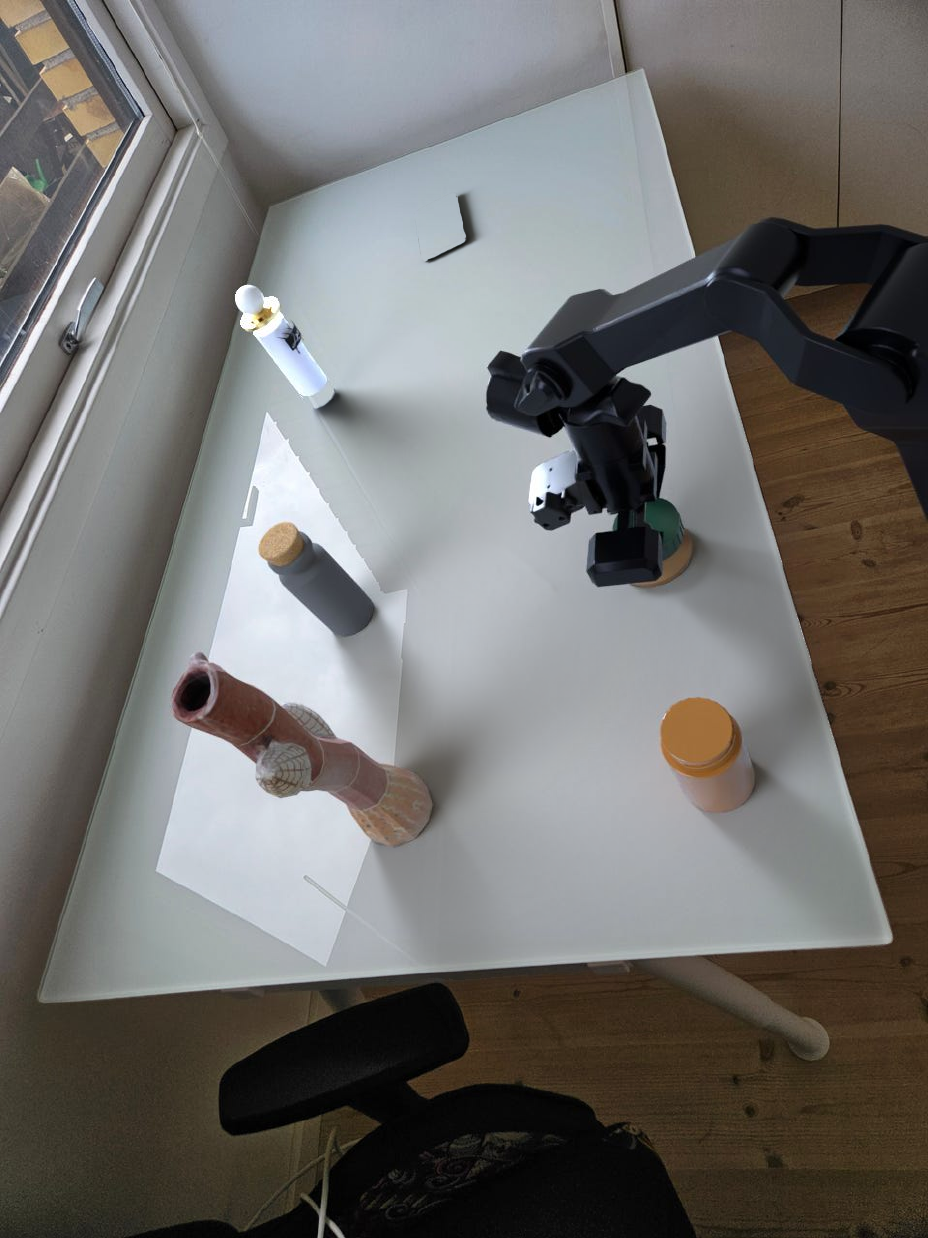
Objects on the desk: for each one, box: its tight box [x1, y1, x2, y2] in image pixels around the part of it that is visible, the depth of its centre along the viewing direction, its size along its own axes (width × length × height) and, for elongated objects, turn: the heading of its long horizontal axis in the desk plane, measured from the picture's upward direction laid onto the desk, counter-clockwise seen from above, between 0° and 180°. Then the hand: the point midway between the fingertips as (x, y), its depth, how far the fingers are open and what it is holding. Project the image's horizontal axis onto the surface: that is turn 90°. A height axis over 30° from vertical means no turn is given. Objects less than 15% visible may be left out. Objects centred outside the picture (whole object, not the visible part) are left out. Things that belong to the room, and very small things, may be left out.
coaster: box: [630, 527, 694, 588], centre depth 81 cm, size 8×8×1 cm
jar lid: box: [611, 497, 685, 561], centre depth 78 cm, size 7×7×2 cm
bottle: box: [257, 521, 374, 637], centre depth 88 cm, size 6×6×15 cm
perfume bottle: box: [235, 284, 328, 396], centre depth 111 cm, size 6×6×20 cm
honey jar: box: [659, 696, 756, 814], centre depth 64 cm, size 6×6×10 cm
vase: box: [169, 651, 434, 848], centre depth 66 cm, size 10×7×30 cm
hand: (648, 545), depth 80 cm, fingers closed on jar lid, 6 cm apart
